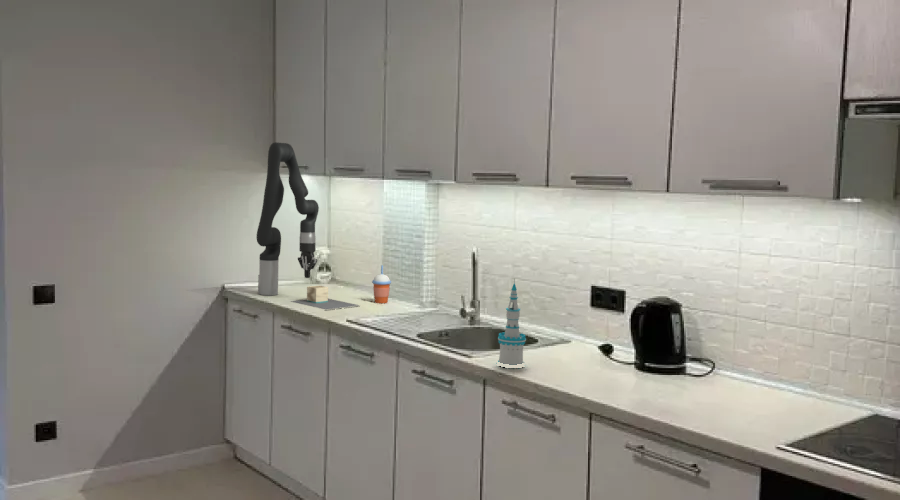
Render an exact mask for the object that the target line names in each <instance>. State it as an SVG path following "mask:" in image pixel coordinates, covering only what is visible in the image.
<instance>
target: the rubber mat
mask: <svg viewBox="0 0 900 500" xmlns="http://www.w3.org/2000/svg"><path fill="white" fill-rule="evenodd" d="M289 302H291V303H295V304H298V305H299V304H300V305H304V306H308V307H313V308H316V309H322V310H324V311H325V312H328V311H335V309H337V310H343V309H342V308H346V309H351V308H353V307H354V308H360V306H361V305H359V304H355V303H351V302H346V301H341V300H337V299H332V298H328V302H324V303H312V302H307V298H306V299H299V300H290V301H289Z"/></svg>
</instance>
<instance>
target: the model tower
mask: <svg viewBox="0 0 900 500" xmlns="http://www.w3.org/2000/svg"><path fill="white" fill-rule="evenodd" d="M515 282H516V279H515V278H514V279H513V286H512V287H511V293H510V296H509V299H510V300H509V304H508V306H507V308H505V309H506V315H505V316H506V320H507V321H506V326H505V331H504V332H503V331H502V332H499V333H498V337H497V340H498V341H497V343H498V344H499V356H498V357H499V358H498V360H497V361H498V362H500V363H503V364H509V365H517V364H522V363H523V362H524V345H525V344H526V341H527V338H526V334H524V333H522V332H521V333H520V326H519V319H520V311H521V308H519V305H518V299H519V296H518V293H517V287H516V283H515Z"/></svg>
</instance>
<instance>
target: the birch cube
mask: <svg viewBox="0 0 900 500" xmlns="http://www.w3.org/2000/svg"><path fill="white" fill-rule="evenodd" d="M306 299H307V302H312V303H324V302H328V299H329V287H328V286H323V285H312V286H311V285H310V286H306Z"/></svg>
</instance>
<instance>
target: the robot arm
mask: <svg viewBox="0 0 900 500" xmlns="http://www.w3.org/2000/svg"><path fill="white" fill-rule="evenodd" d="M281 163H285V165H286V167H287V169H288V185H289V187H290V190H291V192H292V193H293V197H294V203H295V208H296V210H297V213H298V214H300V215H302V216H303V215H304V216H305V215H306V217H305V219H302V220H301V221H300V224H299V252H300V257H297V260H298V263H299V265H300V268H301V269H303V272H304V274H303V276H304V278H305V279H310V278H311V270H314V268H315V266H316V265H317V263H318V259H316V257H315V254H314V253H315V252H316V246H317V244H316V243H317V242H316V240H317V239H316V238H317V237H316V222H317V218H318V215H319V211H320V210H319V209H320V207H319V204H318V202H317V201H316V200H315V199H306V197H307V196H308V195H309V189H308V188H307V186H306V183H305V181H304V179H303V177H302V174H301V170H300V167H299V164H298V160H297V157H296V154H295V150H294V148H293V146H292V145H291V144H290V143H287V142H272V143H271V144H270V146H269V148H268V151H267V171H266V180H265V186H264V187H265V188H264V192H263V202H262V208H261V214H260V219H259V222H258V227H257V230H256V242H257V244H258V245H259V247H265V249H264V250H263V251H262V252H261V253H260V254H259V259H258V260H259V269H258V271H259V272H258V276H257V277H258V278H257V284H258V285H257V287H258V288H257V294H259V295H261V296H278V294H279V257H280V255H281V248H282V247H281V246H282V236H281V235H282V234H281V231H280V229H279V228H277V227H274V226H273V221H274V219H275V217H276V215H277V213H279V210H280V208H281V206H282V205H283V202H284V196H285V188H284V187H285V186H284V183H283V180H282V178H281V175H280V174H281V173H280V167H281Z"/></svg>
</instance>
